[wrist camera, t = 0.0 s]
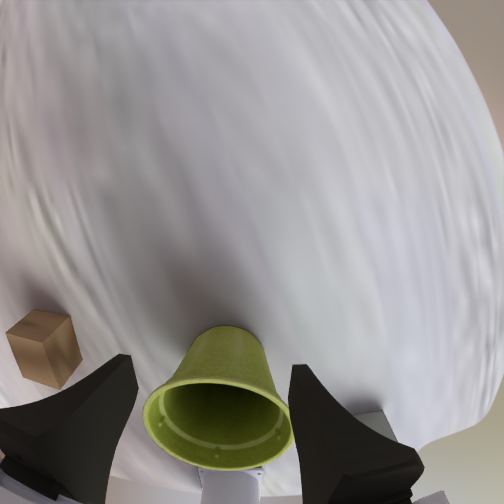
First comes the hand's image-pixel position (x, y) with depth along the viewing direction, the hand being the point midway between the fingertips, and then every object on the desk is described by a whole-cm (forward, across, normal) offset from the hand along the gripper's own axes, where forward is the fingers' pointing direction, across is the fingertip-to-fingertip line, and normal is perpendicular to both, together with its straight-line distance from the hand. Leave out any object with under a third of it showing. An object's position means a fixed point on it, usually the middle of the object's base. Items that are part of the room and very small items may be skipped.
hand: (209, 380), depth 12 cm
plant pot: (+10, 0, +6) cm, 12 cm away
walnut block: (+10, +17, +6) cm, 21 cm away
